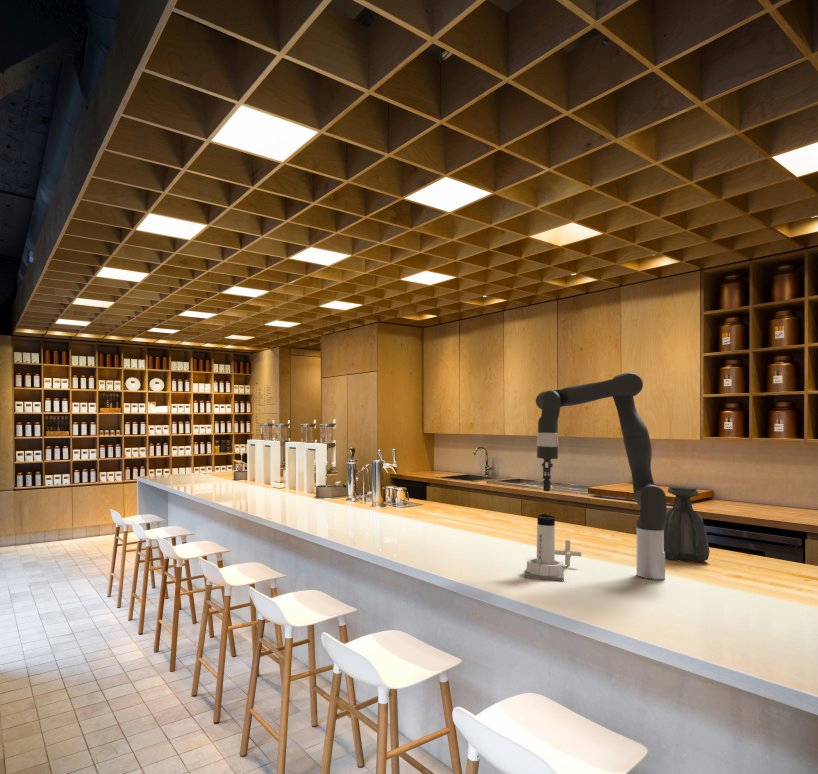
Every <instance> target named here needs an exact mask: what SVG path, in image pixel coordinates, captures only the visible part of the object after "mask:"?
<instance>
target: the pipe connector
mask: <svg viewBox="0 0 818 774" xmlns="http://www.w3.org/2000/svg"><path fill="white" fill-rule="evenodd" d="M564 543H565V544H564V545H565V546H564V547H565V549H564V550H563V549H555V555H556V556H564V557H565V558H564V566H565V565H567V566H570V567H571V557H572V556H573V557H582V551H580V550H579V551H576V550H571V539H565V542H564Z"/></svg>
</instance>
